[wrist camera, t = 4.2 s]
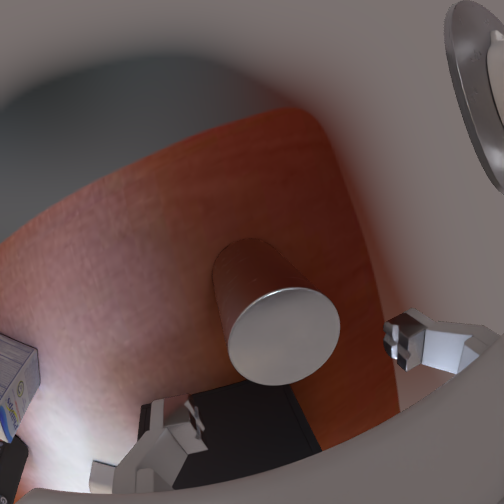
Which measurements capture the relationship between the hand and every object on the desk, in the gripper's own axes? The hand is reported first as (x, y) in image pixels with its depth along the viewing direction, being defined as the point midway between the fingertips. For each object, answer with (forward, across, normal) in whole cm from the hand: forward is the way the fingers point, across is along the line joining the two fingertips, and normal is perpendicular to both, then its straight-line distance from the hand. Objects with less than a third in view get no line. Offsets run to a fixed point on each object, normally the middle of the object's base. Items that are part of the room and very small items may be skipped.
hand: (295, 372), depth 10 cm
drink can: (+11, 0, 0) cm, 11 cm away
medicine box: (+11, +24, +1) cm, 26 cm away
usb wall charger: (+12, +22, +21) cm, 32 cm away
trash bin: (+11, +6, +16) cm, 20 cm away
